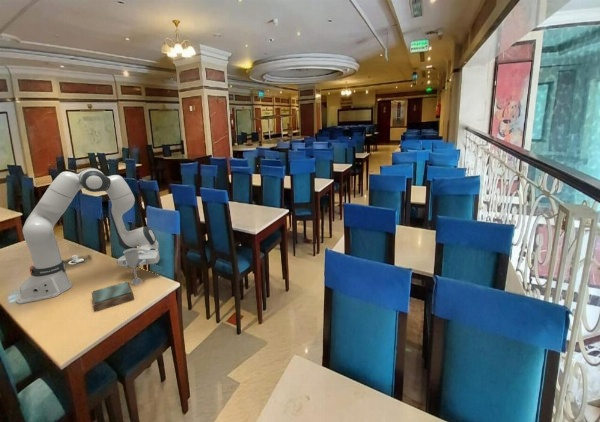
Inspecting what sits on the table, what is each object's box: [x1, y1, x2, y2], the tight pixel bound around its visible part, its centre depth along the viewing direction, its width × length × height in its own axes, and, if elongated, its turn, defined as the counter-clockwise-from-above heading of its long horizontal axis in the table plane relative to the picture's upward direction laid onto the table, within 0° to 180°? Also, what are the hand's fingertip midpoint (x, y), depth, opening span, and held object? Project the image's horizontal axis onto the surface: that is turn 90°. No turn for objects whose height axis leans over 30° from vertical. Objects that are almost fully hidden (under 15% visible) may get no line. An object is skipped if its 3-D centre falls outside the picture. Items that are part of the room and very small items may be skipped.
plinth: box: [91, 281, 135, 312], centre depth 151 cm, size 16×14×4 cm
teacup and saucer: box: [67, 254, 85, 265], centre depth 196 cm, size 9×8×4 cm
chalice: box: [122, 247, 143, 286], centre depth 165 cm, size 7×7×18 cm
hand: (132, 265), depth 164 cm, fingers closed on chalice, 5 cm apart
